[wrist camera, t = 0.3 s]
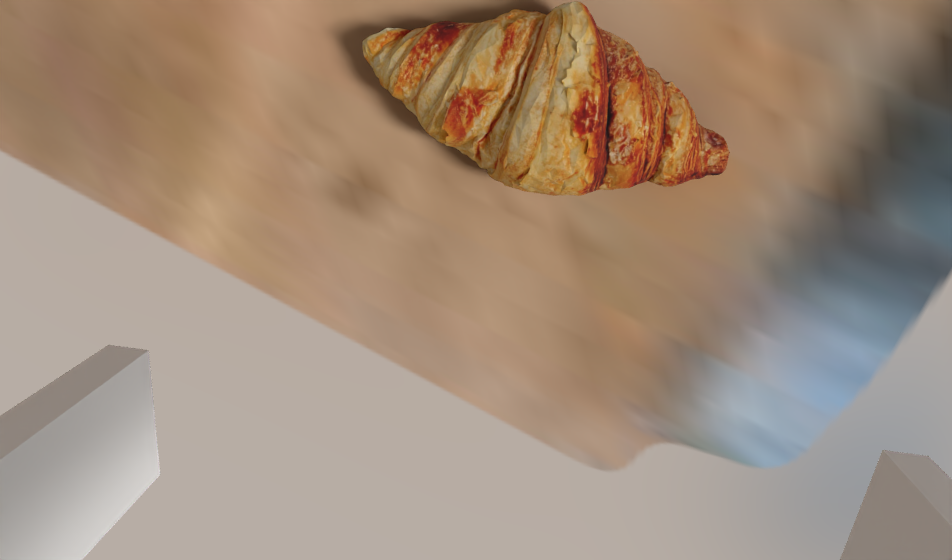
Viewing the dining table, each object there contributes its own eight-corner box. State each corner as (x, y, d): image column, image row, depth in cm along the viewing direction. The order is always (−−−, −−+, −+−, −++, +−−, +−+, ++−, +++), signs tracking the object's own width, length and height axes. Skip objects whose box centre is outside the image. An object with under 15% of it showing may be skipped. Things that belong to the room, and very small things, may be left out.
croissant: (376, 94, 40) (329, 165, 35) (387, -70, 33) (330, -12, 27) (687, 187, 40) (689, 272, 34) (771, 42, 32) (789, 122, 27)
